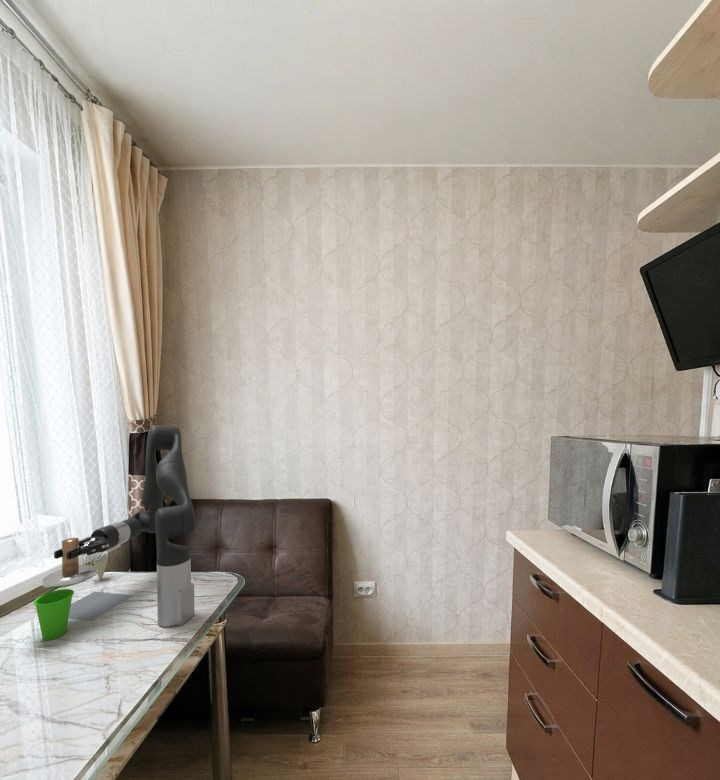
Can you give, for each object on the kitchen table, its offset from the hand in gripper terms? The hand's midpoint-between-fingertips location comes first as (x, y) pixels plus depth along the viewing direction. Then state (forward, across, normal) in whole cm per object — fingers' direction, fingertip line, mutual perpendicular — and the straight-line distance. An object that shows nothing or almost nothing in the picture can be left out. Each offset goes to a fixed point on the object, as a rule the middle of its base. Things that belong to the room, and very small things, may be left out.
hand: (61, 555), depth 116 cm
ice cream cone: (-28, -17, +21) cm, 39 cm away
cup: (+3, +2, +21) cm, 22 cm away
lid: (-3, 0, +8) cm, 8 cm away
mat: (-13, -3, +21) cm, 25 cm away
